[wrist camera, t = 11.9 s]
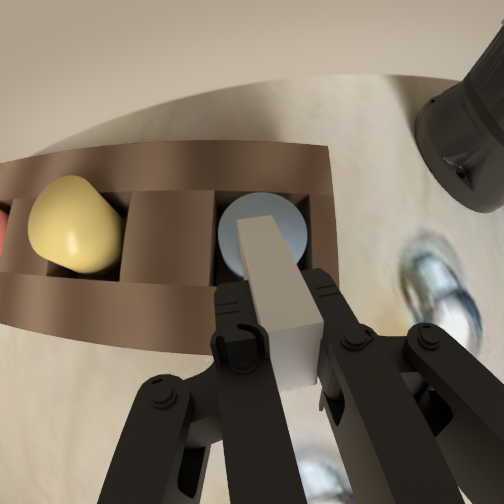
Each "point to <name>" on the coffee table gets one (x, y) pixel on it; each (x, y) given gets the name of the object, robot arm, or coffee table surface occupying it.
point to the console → (155, 237)
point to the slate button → (259, 206)
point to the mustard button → (76, 227)
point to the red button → (3, 228)
